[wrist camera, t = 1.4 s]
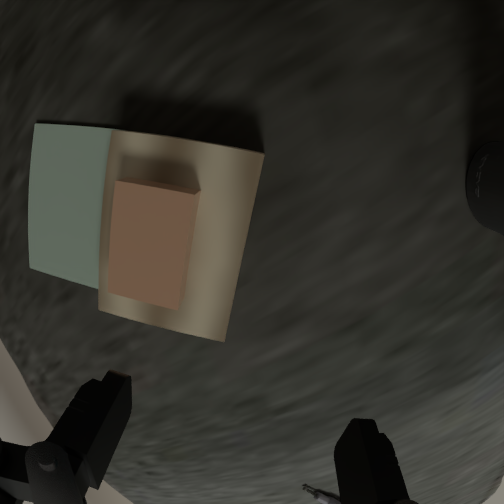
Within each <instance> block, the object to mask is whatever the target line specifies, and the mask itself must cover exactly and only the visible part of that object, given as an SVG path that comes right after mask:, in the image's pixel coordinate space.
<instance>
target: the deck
mask: <svg viewBox="0 0 504 504" xmlns="http://www.w3.org/2000/svg"><path fill="white" fill-rule="evenodd" d="M264 155H265V153H261V152H256V151H252V150H247V149H242V148H237V147H232V146H226V145H221V144H216V143H210V142H204V141H198V140H192V139H186V138H180V137H173V136H166V135H159V134H152V133H144V132H136V131H123V130H112V132H111V138H110V145H109V151H108V158H107V166H106V174H105V182H104V192H103V202H102V214H101V228H100V246H99V310H101V311H104V312H107V313H111V314H114V315H118V316H121V317H125V318H128V319H132V320H135V321H139V322H143V323H146V324H150V325H154V326H158V327H162V328H166V329H170V330H174V331H178V332H182V333H186V334H190V335H195V336H199V337H203V338H208V339H212V340H217V341H222V342H224V341H225V336H226V331H227V327H228V322H229V317H230V312H231V308H232V303H233V298H234V294H235V289H236V284H237V279H238V275H239V270H240V265H241V261H242V256H243V251H244V247H245V242H246V237H247V233H248V228H249V224H250V219H251V214H252V210H253V205H254V200H255V196H256V191H257V187H258V182H259V178H260V173H261V169H262V164H263V159H264ZM125 177H131V178H137V179H142V180H148V181H154V182H160V183H165V184H171V185H176V186H181V187H187V188H192V189H197V190H201V193H200V199H199V205H198V210H197V216H196V222H195V228H194V234H193V241H192V247H191V254H190V260H189V267H188V274H187V281H186V288H185V295H184V299H183V301H182V303H181V305H180V307H179V309H178V310H173V309H169V308H165V307H161V306H157V305H153V304H149V303H146V302H142V301H138V300H134V299H130V298H127V297H123V296H119V295H116V294H112V293H108V267H109V245H110V230H111V217H112V206H113V196H114V187H115V180H118V179H122V178H125Z"/></svg>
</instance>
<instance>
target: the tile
mask: <svg viewBox="0 0 504 504" xmlns="http://www.w3.org/2000/svg"><path fill="white" fill-rule="evenodd" d="M200 193H201V190H197V189H192V188H187V187H181V186H176V185H171V184H165V183H160V182H154V181H148V180H142V179H137V178H131V177H125V178H122V179H118V180H115V187H114V196H113V206H112V217H111V230H110V245H109V267H108V293H112V294H116V295H119V296H123V297H127V298H130V299H134V300H138V301H142V302H146V303H149V304H153V305H157V306H161V307H165V308H169V309H173V310H178V309H179V307H180V305H181V303H182V301H183V299H184V295H185V288H186V281H187V274H188V267H189V260H190V254H191V247H192V241H193V234H194V228H195V222H196V216H197V210H198V205H199V199H200Z"/></svg>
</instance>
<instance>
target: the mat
mask: <svg viewBox="0 0 504 504" xmlns="http://www.w3.org/2000/svg"><path fill="white" fill-rule="evenodd" d="M112 130H119V129H109V128H98V127H87V126H74V125H58V124H35V129H34V136H33V144H32V154H31V165H30V179H29V202H28V239H29V262H30V268H32V269H35V270H38V271H41V272H44V273H47V274H51V275H54V276H57V277H60V278H63V279H66V280H70V281H73V282H76V283H80V284H83V285H86V286H90V287H93V288H97V289H99V246H100V228H101V214H102V202H103V192H104V182H105V174H106V166H107V158H108V151H109V145H110V138H111V132H112ZM123 131H127V130H123Z"/></svg>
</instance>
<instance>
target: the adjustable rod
mask: <svg viewBox="0 0 504 504" xmlns="http://www.w3.org/2000/svg"><path fill="white" fill-rule="evenodd" d="M307 488H308V487H307V486H305V487H303V490H304V491H305V490H306V491H307V492H309V493H311V494H312V493H313V494H312V495H314V498H315V499H316V500H317V501H319V502H321V503H322V504H341V502H339V501H338V500H336V499H334V498H333V497H330V496H326V495H324V494H322V493H320V492H316V493H314V492H312V491H310V490H309V489H307Z"/></svg>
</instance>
